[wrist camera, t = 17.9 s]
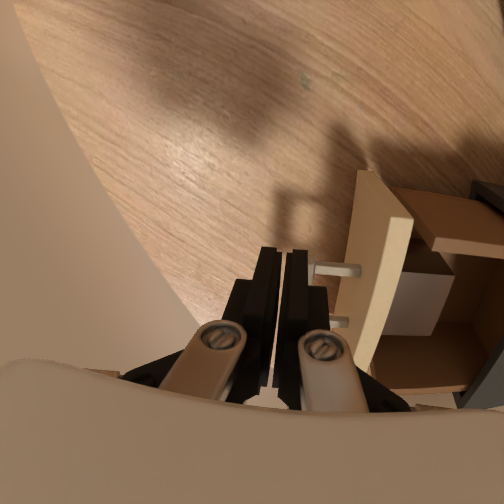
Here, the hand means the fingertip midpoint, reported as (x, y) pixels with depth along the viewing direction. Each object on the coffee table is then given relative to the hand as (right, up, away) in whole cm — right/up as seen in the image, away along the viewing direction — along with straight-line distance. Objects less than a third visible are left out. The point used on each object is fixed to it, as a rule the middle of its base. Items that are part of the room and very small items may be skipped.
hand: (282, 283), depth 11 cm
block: (+10, 0, +10) cm, 14 cm away
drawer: (+11, 0, +11) cm, 16 cm away
